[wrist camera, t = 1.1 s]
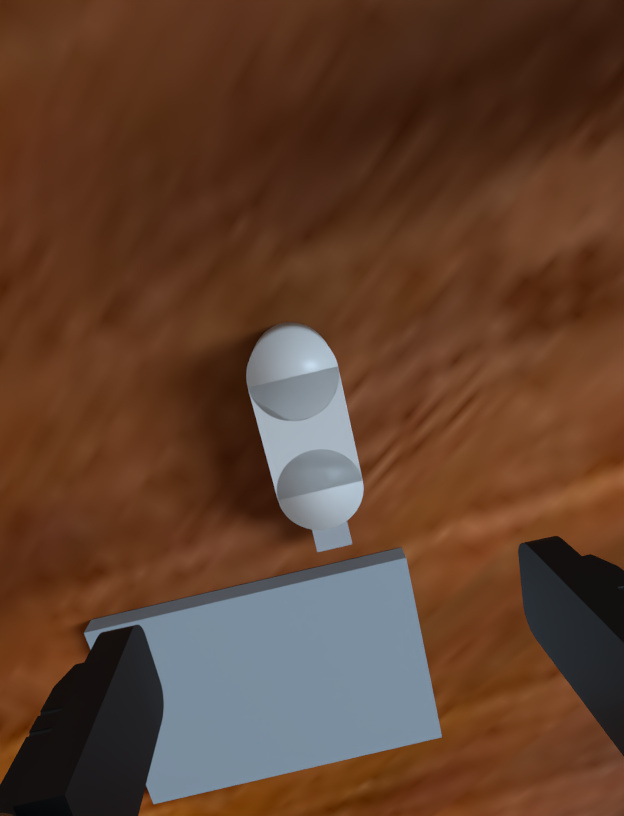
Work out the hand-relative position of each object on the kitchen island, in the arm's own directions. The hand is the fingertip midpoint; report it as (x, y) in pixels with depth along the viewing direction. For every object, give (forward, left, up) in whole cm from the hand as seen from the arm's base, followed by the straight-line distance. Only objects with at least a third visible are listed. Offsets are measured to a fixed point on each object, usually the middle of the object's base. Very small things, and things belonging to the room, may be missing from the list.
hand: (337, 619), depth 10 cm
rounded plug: (0, +2, -19) cm, 19 cm away
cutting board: (+6, +17, -19) cm, 26 cm away
